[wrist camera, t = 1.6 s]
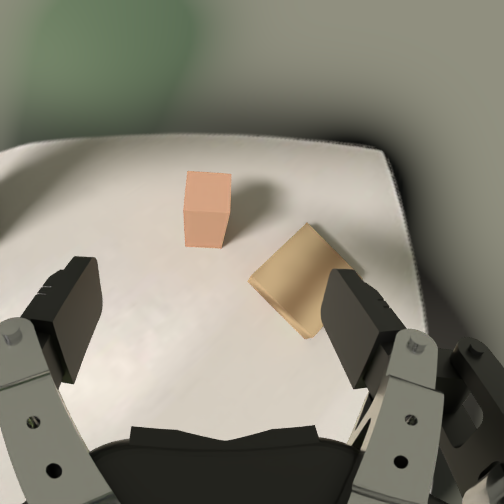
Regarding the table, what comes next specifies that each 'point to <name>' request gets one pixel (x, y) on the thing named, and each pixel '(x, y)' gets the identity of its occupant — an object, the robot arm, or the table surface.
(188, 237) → the block
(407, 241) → the table surface
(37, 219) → the table surface
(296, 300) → the base slab
